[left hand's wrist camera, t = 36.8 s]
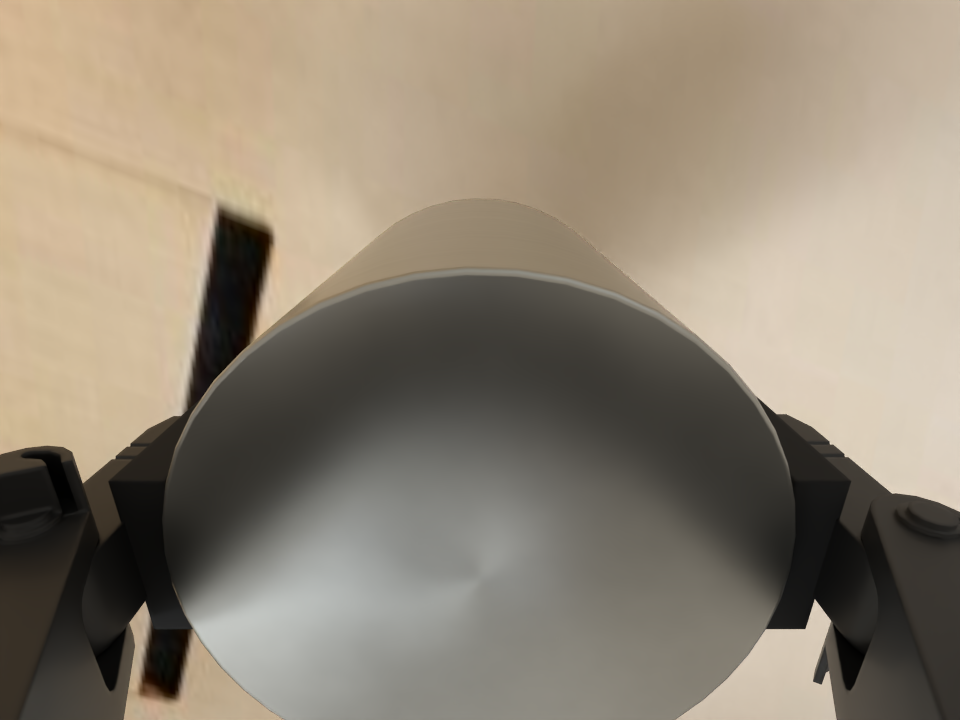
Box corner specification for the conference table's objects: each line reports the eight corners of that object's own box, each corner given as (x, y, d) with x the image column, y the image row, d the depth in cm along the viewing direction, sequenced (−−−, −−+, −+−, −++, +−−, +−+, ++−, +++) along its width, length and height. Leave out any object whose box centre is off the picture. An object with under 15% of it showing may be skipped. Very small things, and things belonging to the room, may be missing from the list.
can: (275, 356, 15) (43, 589, 7) (471, 124, 13) (457, 80, 5) (485, 517, 18) (490, 838, 9) (686, 343, 15) (925, 566, 7)
